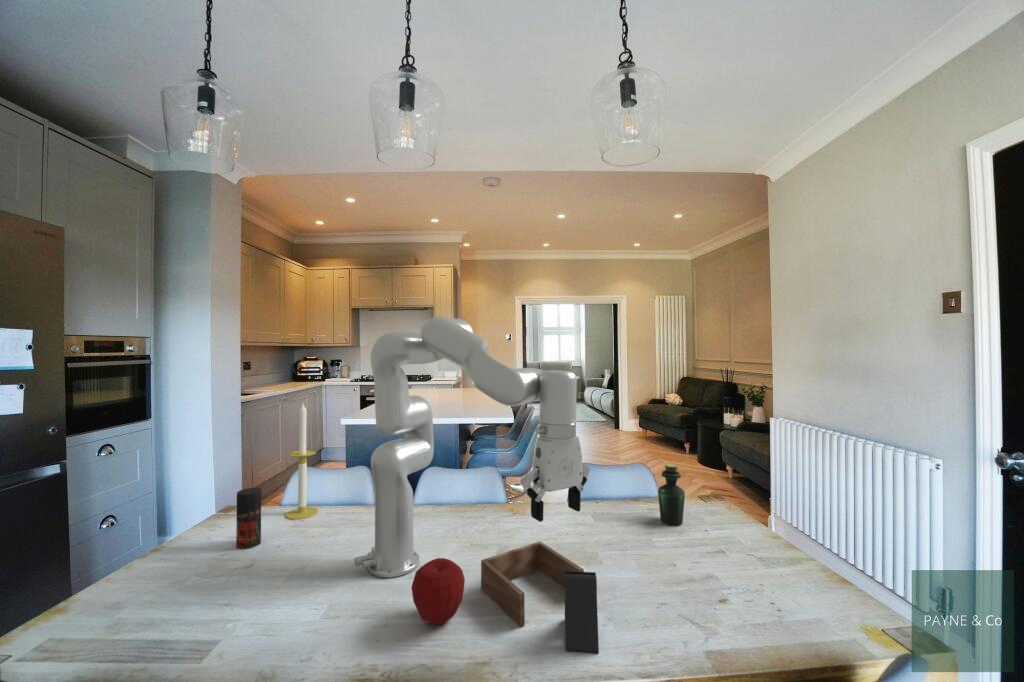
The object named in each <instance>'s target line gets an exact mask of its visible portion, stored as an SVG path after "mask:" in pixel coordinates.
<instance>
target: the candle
mask: <svg viewBox="0 0 1024 682" xmlns="http://www.w3.org/2000/svg"><path fill="white" fill-rule="evenodd" d="M301 404H302V405H301V407H300V408H299V419H298V420H299V424H298V425H299V430H298V432H299V434H298V435H299V436H298V437H299V440H298V449H299V450H294V451H291V452H289V453H288V456H289V457H290V458H298V465H297V466H298V469H297V471H298V475H297V476H298V479H297V480H298V485H297V487H298V488H297V489H298V490H297V491H298V492H297V500H298V501H297V508H294V509H292V510H289V511H288V512H287V513H285V515H284V516H285V518H287V519H288V520H291V521H292V520H303V519H308V518H310V517H313V516H315V515H317V514H318V513H319V508H317V507H315V506H307V484H308V483H307V482H308V481H307V476H308V475H307V471H308V470H307V469H308V466H307V464H308V463H307V459H308V458H307V457H310V456H313V455H316V454H317V450H314V449H307V408H306V407H305V404H304V403H301Z"/></svg>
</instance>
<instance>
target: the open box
mask: <svg viewBox="0 0 1024 682" xmlns="http://www.w3.org/2000/svg"><path fill="white" fill-rule="evenodd" d="M480 564H481V565H480V570H481V571H480V572H481V573H480V587H481V588H480V589H481V590H482V591H483V592H484V593H485V594H486V595H487V596H488V597H489V598H490V599H491V600H492V601H493V602H494V603H495V604H496V605H497V606H498V607H499V608H500V609H501V610H502V611H503V612H504V613H505V614H506V615H507V616H508V617H509V618H510V619H511V620H512V621H513V622H514V623H515V624H516V625H517V626H518V627H519V628H523V627H525V624H526V623H525V621H526V620H525V612H526V611H525V610H526V609H525V592H524V591H523V590H522V589H520V588H519V587H518V586H517V585H516V584H515V583H513V580H516V579H518V578H522V577H524V576H527V575H529V574H532V573H535V572H537V571H540V572H541V573H542V574H543V575H546V576H547V577H548V578H549V579H550V580H552V581H553V582H555V583H556V584H558V585H559V586H560V587H562V588H563V589H564V590H565V571H577V572H585V569H584V568H582V567H581V566H579V565H577V563H574V562H573V561H571V560H569V558H566V557H565V556H563V555H562V554H560V553H559V552H557V551H556V550H555V549H553V548H552V547H550V546H549V545H546V544H545V543H543V542H542V541H536V542H533V543H530V544H527V545H524V546H521V547H518V548H514V549H512V550H509V551H506V552H502V553H499V554H496V555H493V556H490V557H486V558H484V559H481V560H480Z"/></svg>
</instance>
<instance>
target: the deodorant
mask: <svg viewBox="0 0 1024 682" xmlns="http://www.w3.org/2000/svg"><path fill="white" fill-rule="evenodd" d="M235 523H236V526H235V527H236V531H235V532H236V535H235V536H236V538H235V539H236V540H235V546H236V547H235V548H236V549H238V550H248V549H253V548H256V547H258V546H259V545H260V544H261V543H262V488H260V487H248V488H244V489H240V490H239V491H237V492H236V522H235Z"/></svg>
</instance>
